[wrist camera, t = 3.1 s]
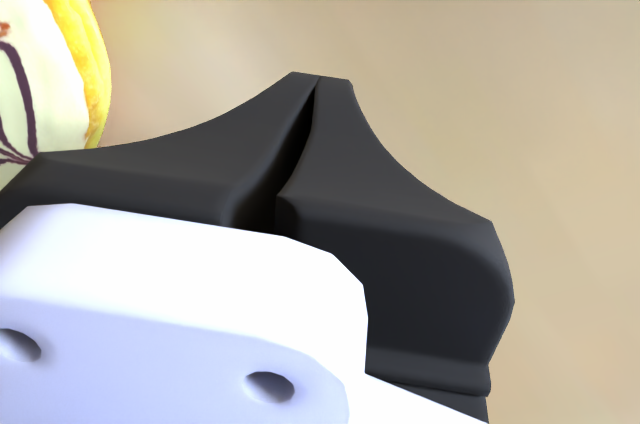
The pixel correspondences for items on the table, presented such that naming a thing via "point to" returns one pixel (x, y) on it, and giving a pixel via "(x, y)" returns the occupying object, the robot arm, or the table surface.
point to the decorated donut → (50, 80)
